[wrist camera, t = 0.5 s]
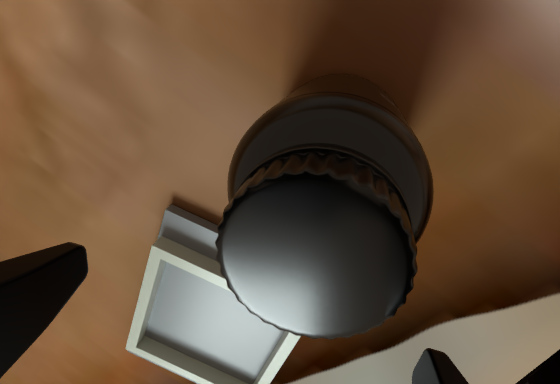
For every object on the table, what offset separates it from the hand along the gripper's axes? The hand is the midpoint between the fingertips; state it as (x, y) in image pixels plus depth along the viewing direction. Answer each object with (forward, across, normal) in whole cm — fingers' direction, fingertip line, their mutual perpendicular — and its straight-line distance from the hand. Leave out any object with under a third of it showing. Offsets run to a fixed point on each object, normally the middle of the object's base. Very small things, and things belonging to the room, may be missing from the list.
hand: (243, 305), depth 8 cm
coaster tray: (+12, +4, +15) cm, 19 cm away
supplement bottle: (+12, -1, -2) cm, 12 cm away
